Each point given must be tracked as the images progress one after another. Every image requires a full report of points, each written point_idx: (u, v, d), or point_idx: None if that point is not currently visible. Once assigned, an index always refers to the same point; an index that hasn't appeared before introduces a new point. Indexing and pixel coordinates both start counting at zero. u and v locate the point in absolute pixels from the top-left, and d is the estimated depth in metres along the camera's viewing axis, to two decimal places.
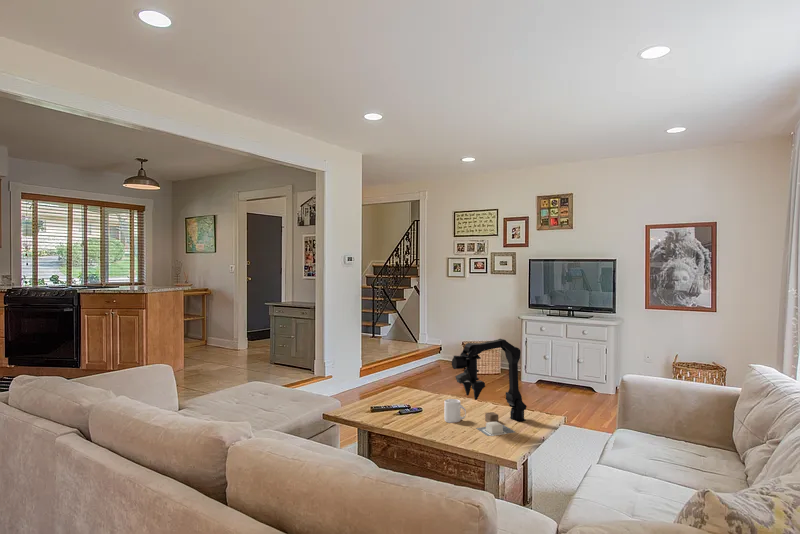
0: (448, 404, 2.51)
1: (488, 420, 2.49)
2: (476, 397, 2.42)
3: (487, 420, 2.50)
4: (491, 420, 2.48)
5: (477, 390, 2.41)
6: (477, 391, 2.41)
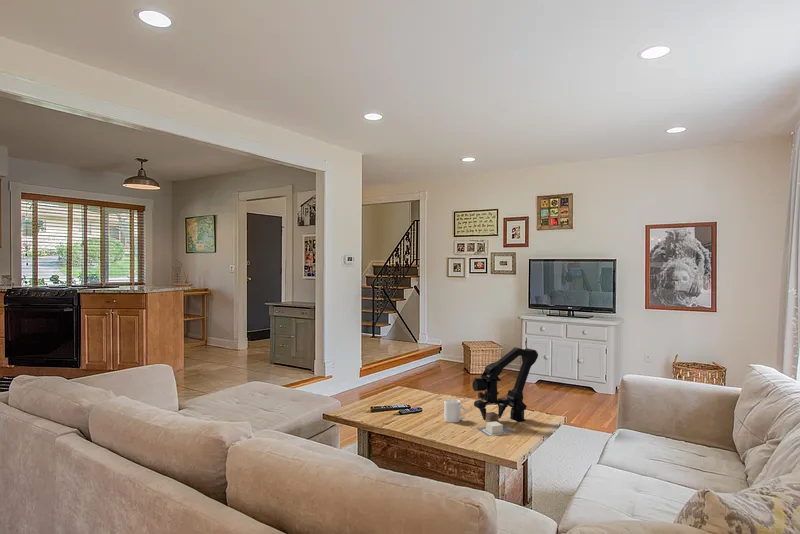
0: (448, 404, 2.51)
1: (488, 420, 2.49)
2: (483, 417, 2.49)
3: (487, 420, 2.50)
4: (491, 420, 2.48)
5: (482, 410, 2.48)
6: (482, 411, 2.48)
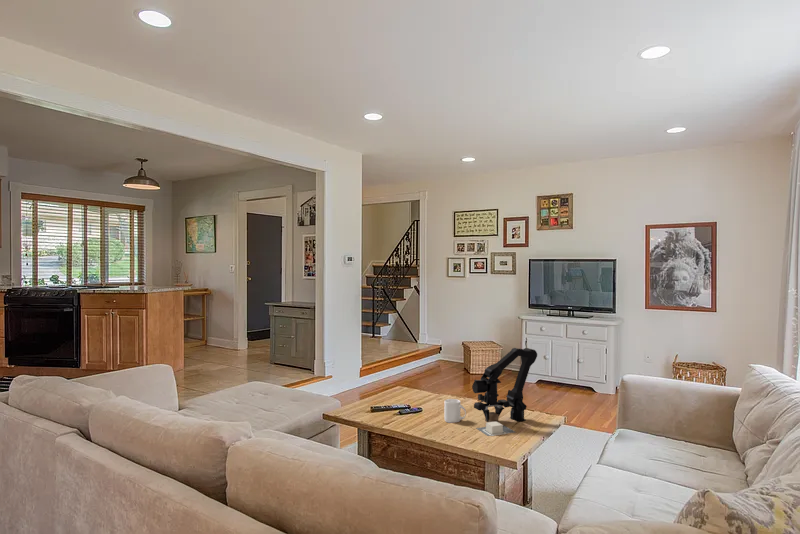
0: (448, 404, 2.51)
1: (488, 420, 2.49)
2: (486, 419, 2.50)
3: None
4: (491, 420, 2.48)
5: (485, 412, 2.49)
6: (485, 413, 2.49)
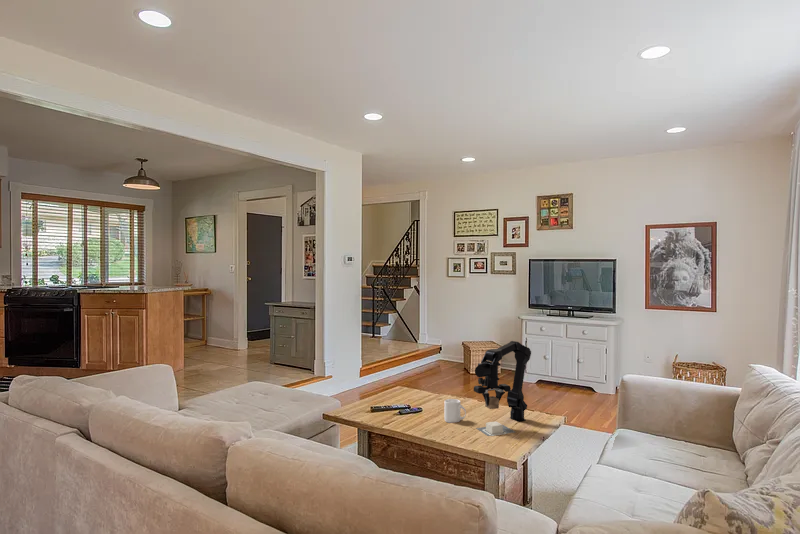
0: (448, 404, 2.51)
1: (488, 404, 2.42)
2: (486, 403, 2.42)
3: None
4: (491, 404, 2.40)
5: (485, 396, 2.42)
6: (485, 397, 2.42)
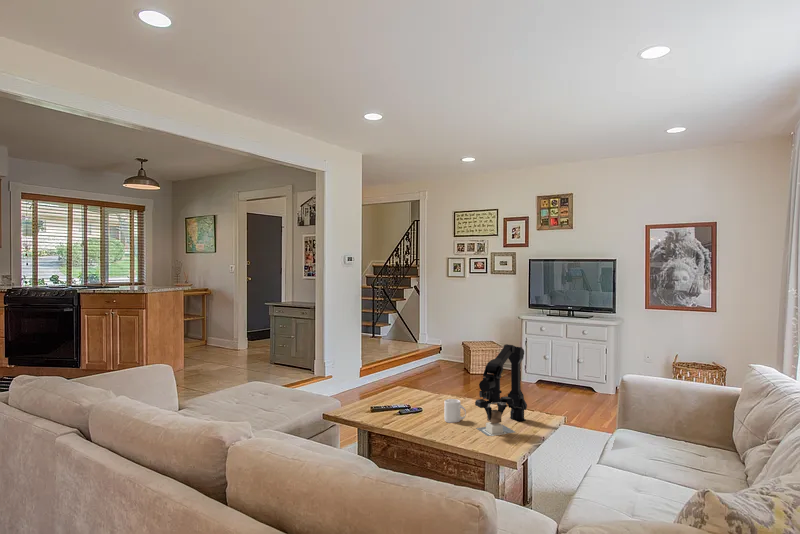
0: (448, 404, 2.51)
1: None
2: (488, 417, 2.34)
3: None
4: (493, 418, 2.32)
5: (487, 410, 2.34)
6: (487, 411, 2.34)
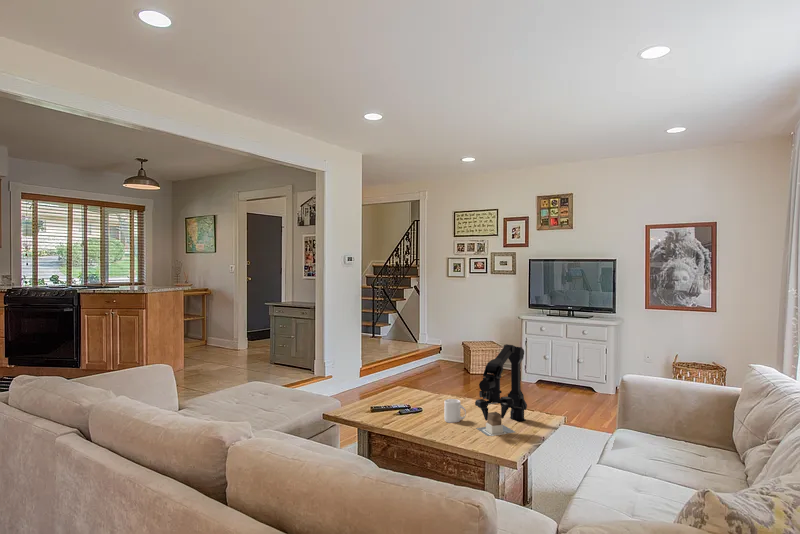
0: (448, 404, 2.51)
1: (490, 420, 2.34)
2: (485, 417, 2.33)
3: (489, 420, 2.35)
4: (493, 420, 2.32)
5: None
6: (484, 411, 2.33)
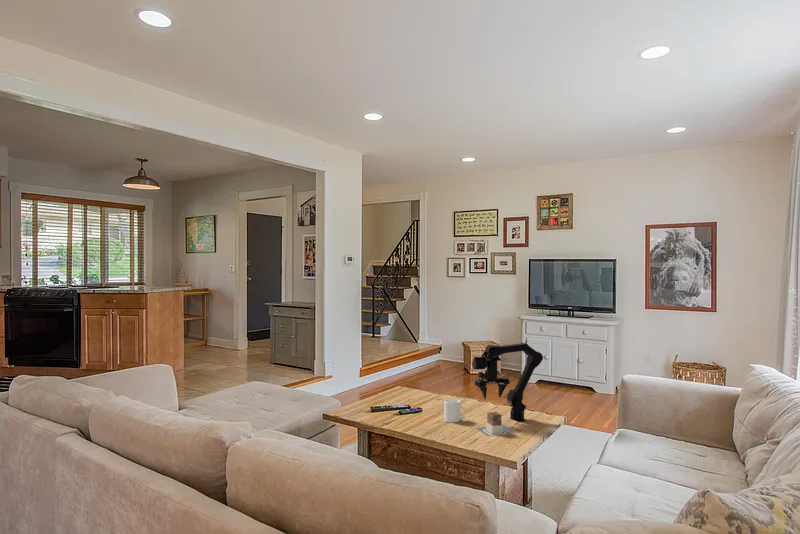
0: (448, 404, 2.51)
1: (490, 420, 2.34)
2: (483, 396, 2.52)
3: (489, 420, 2.35)
4: (493, 420, 2.32)
5: (483, 389, 2.51)
6: (483, 390, 2.51)
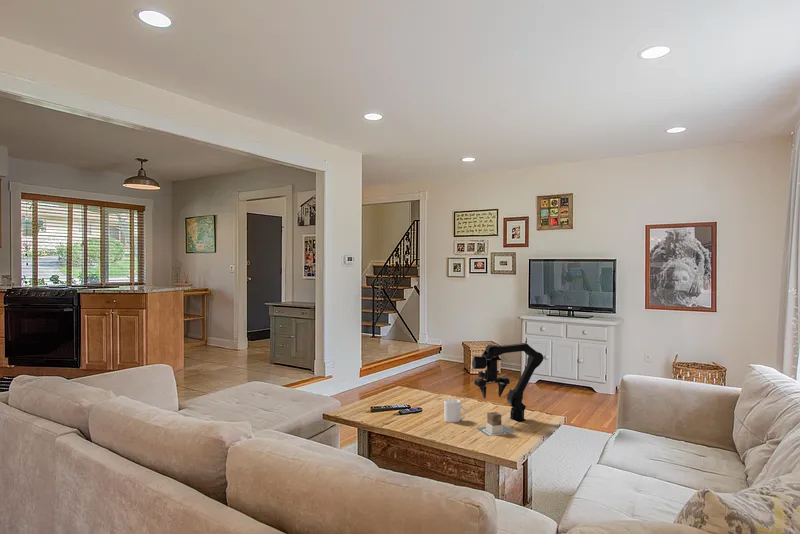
0: (448, 404, 2.51)
1: (490, 420, 2.34)
2: (483, 395, 2.52)
3: (489, 420, 2.35)
4: (493, 420, 2.32)
5: (482, 389, 2.52)
6: (482, 390, 2.52)
